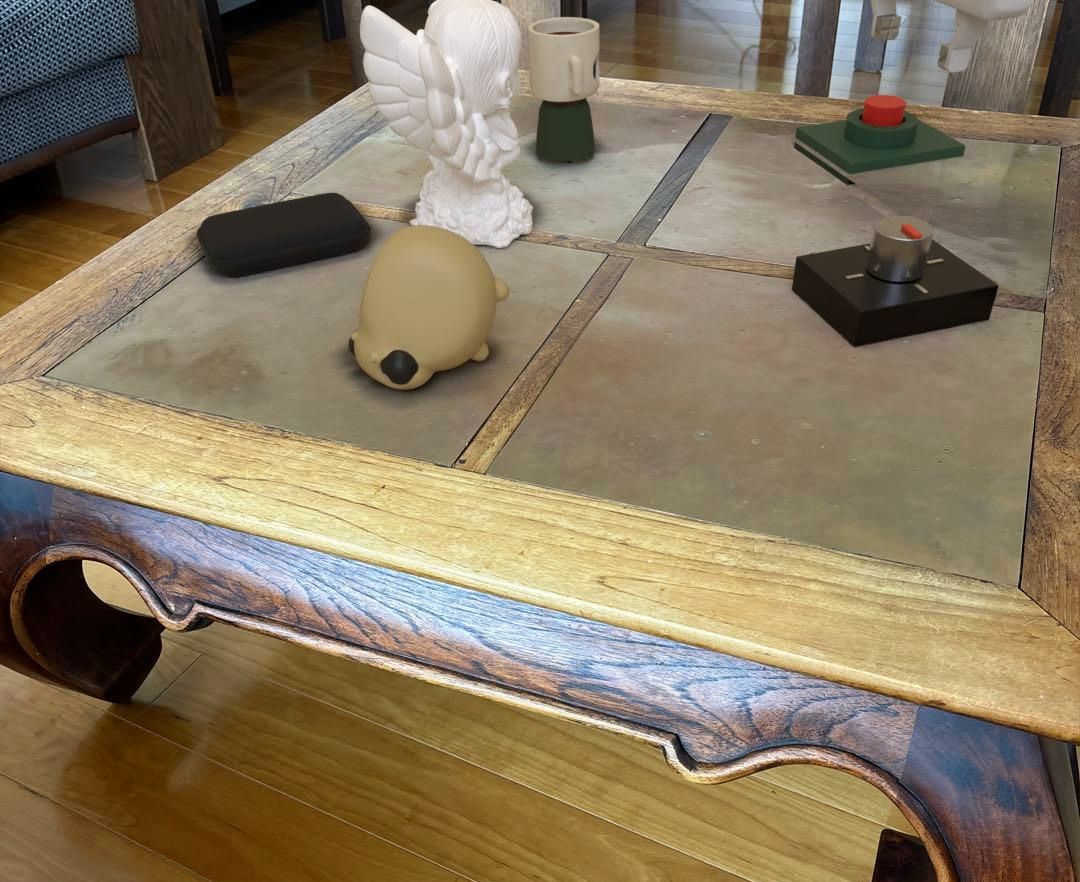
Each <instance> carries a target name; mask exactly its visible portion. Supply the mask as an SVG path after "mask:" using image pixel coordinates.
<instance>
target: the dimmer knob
mask: <svg viewBox="0 0 1080 882" xmlns="http://www.w3.org/2000/svg"><path fill="white" fill-rule="evenodd" d="M934 232H935V230H934V228H933V226H932V224H930V223H929V222H927V221H925V220H923V219H922V218H921V219H920V218H917V217H913V216H906V215H890V216H885V217H882V218H880V219H878V220H876V221H875V223H874V224H873V230H872V234H871V240H870V243H871V245H870V250H869V255H868V260H867V265H866V267H867V270H868V272H869V273H870V274H872V275H873V276H875V277H877V278H880V279H883V280H886V281H892V282H909V281H914V280H917V279H919V278H920V277H922V276H923V274H924V271H925V267H926V262H927V258H928V254H929V250H930V245H931V241H932V239H933V236H934Z"/></svg>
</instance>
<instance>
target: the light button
mask: <svg viewBox="0 0 1080 882" xmlns="http://www.w3.org/2000/svg"><path fill="white" fill-rule="evenodd" d="M906 106H907V101H906V100H905V99H903V98H902V97H899V96H895V95H890V94H889V95H888V94H876V95H872V96H868V97H867V98H865V99H864V104H863V108H864V109H863V115H862V121H863V122H864V123H867V124H871V125H875V126H896V125H901V124H902V122H903V117H904V112H905V111H906Z"/></svg>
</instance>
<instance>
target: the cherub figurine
mask: <svg viewBox="0 0 1080 882" xmlns="http://www.w3.org/2000/svg"><path fill="white" fill-rule="evenodd" d="M427 14H428V15H427V18H426V22H425V25H424V28H423V29H422V28H421V29H418V30H417V32H416V34H414V33H413V32H412V31H410V30H409V29H408V28H406V27H405V26H403V24H402V25H401V23H399V22H398V21H397V20H396V19H393V18H391V17H390V16H389V15H388V14H386V13H385V12H383V11H381V9H379V8H377V7H376V6H373V5H366V6H365V7H364V8H363V10H362V13H361V16H360V24H359V36H360V42H361V44H362V46H363V48H364V50H365V52H364V54H363V58H362V63H363V65H362V66H363V71H364V74H365V76H366V78H367V80H368V92H369V97H370V98H371V100H372V101H373V103H375V106H376V110H377V112H378V114H379V115H380V116H381V117H382V119H384V120H386V121H387V124H388V127H389V128H390V130H391V131H392V132H393V133H394V134H396V135H397V136H398V137H403V138H404V139H405V141H406V142H407V143H408V144H409V145H411V146H412V147H414V148H415V149H417V150H426V151H427V152H429V154H428V155H427V159H428V160H429V162H430V163H431V165H432V169H431V170H429V171H428V172H427V173H425V175H424V178H423V181H422V189H421V190H420V191H419V192H418V193H419V194H418V197H419V199H420V200H419V201H417V202H415V208H414V212H415V218H413V219H410V221H409V224H410V226H414V225H428V226H435V227H440V228H443V229H447V230H449V231H452V232H454V233H456V234H458V235H460V236H462V237H464V238H465V239H467V240H468V241H469V242H471V243H472V244H473V245H481V246H482V245H483V246H485V245H486V246H492V247H495V248H497V249H503V248H508V247H509V246H510V244H512V241H514V240H516V239H518V238H519V237H520V236H521V235H530V234H531V233H532V230H533V223H534V222H533V216H532V214H533V210H534V207H533V205H532V204H530V201H529V200H528V199H526V198H524V193H523V192H522V191H521V189H519V187H518V186H516V185H511V184H512V183H511V181H510V178H506V177H505V175H504V174H502V170H503V168H505V167H506V166H508V165H509V164H511V163H513V162H515V161H517V160H518V158H519V157H520V156H521V146H520V140H519V132H518V128H517V126H516V124H515V122H514V121H513V119H512V118H511V111H510V110H509V108H507V107H509V106H511V105H512V103H513V101H514V100H516V99H517V98H518V97H519V95H520V93H521V89H522V88H521V87H522V84H521V83H522V82H521V78H520V77H521V76H520V72H519V71H520V70H519V67H518V66H519V62H520V54H521V51H522V50H521V49H522V32H521V28H520V26H519V23H518V22H517V20H516V17H515V16H514V13H512V11H511V10H510V9H509V8H508V7H507V6H505V5H503V4H502V3H500V2H498V1H496V0H434V2H432V3H431V4H430V6H429V8H428V10H427Z"/></svg>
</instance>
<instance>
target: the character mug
mask: <svg viewBox="0 0 1080 882" xmlns="http://www.w3.org/2000/svg"><path fill="white" fill-rule="evenodd" d="M527 35H528V36H527V38H528V39H527V40H528V42H527V43H528V67H529V68H528V69H529V87H530V95H531V96H532V97H535V98H536V99H538V100H542V101H541V104H540V106H539V109H538V116H537V117H538V118H537V125H536V127H537V128H536V137H535V138H536V139H535V140H536V141H535V155H536V156H537V158H538V159H541V160H545V161H549V162H552V161H553V162H566V163H567V164H571V163H572V162H573V161H587V160H589V159H590V158H592V157H593V158H594V155H595V153H596V145H595V144H596V143H595V132H594V126H593V117H592V110H591V106H590V104H589V102H588V99H587V98H589V97H591V96H593V95H594V94H596V93H597V92H598V90H599V87H600V84H601V83H600V82H601V81H600V80H601V79H600V51H601V50H600V49H601V48H600V23H599V22H597V21H595V20H593V19H590V18H584V17H575V16H559V17H558V16H557V17H549V18H543V19H539V20H537V21H533V22H532V23H530V24H529V25H528V26H527Z"/></svg>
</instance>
